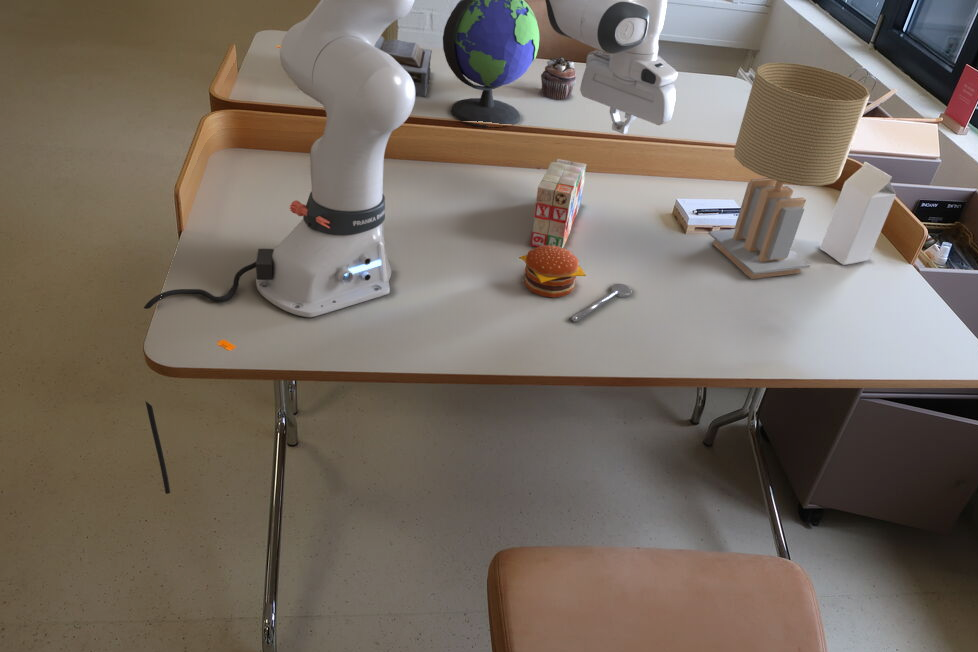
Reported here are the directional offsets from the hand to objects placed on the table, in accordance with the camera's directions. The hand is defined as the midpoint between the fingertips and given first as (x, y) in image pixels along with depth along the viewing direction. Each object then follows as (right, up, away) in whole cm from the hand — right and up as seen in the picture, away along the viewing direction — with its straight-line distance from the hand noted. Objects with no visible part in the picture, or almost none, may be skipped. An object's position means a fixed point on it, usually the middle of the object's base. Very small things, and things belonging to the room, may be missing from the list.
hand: (619, 131), depth 167 cm
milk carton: (+46, -25, +3) cm, 53 cm away
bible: (-58, +28, +51) cm, 82 cm away
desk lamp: (+27, -26, -4) cm, 37 cm away
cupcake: (-12, +26, +59) cm, 66 cm away
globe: (-30, +15, +41) cm, 53 cm away
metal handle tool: (-6, -37, -25) cm, 45 cm away
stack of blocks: (-13, -19, -3) cm, 24 cm away
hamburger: (-14, -33, -21) cm, 42 cm away
